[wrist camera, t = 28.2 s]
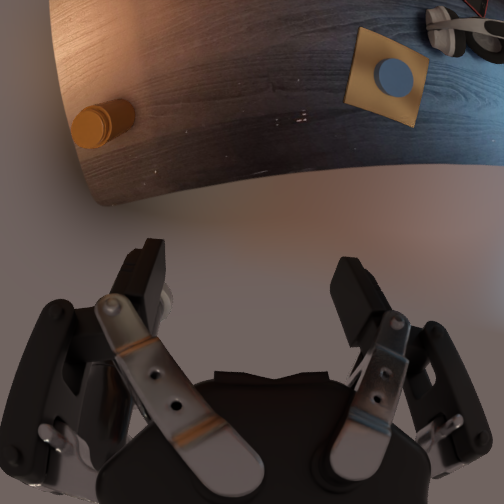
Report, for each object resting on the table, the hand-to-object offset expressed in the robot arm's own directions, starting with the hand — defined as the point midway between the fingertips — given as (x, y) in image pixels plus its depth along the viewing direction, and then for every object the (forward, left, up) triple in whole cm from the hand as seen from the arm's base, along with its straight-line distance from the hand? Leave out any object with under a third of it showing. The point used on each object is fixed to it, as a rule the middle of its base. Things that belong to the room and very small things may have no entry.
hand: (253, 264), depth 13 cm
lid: (+14, -18, -26) cm, 35 cm away
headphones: (+27, -28, -28) cm, 48 cm away
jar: (+2, +18, -28) cm, 33 cm away
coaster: (+14, -18, -28) cm, 36 cm away
